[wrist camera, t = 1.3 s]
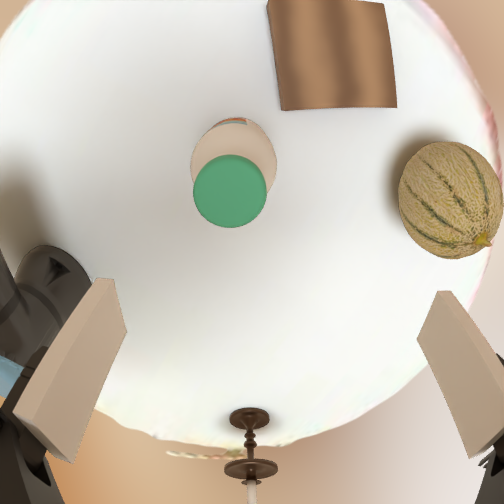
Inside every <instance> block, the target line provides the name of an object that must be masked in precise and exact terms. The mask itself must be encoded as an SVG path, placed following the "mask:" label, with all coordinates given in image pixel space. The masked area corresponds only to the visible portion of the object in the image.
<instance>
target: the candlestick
mask: <svg viewBox="0 0 504 504" xmlns="http://www.w3.org/2000/svg"><path fill="white" fill-rule="evenodd" d="M230 423H231V424H232V425H233V426H235V427H237V428H240V429H246V430H247V433H246V434H245V435H244V436H245V438H247V441H245V443H244V447H246V448H247V453H248V454H247V457H248V459H241V460H235V461H232V462H229V463H227V464H226V465H225V468H224V470H225V471H224V472H225V474H226V475H228V476H230V477H233V478H238V479H246V480H245V481H242V484H245V485H247V504H257V491H256V485H257V484H260V483H261V481H259V480H257V479H262V478H267V477H270V476H272V475H274V474H276V473H277V471H278V467H277V464H276V463H275V462H273V461H269V460H265V459H254V448H255V447H256V446H257V443H256V442H255V441H254V438H255V436H256V435H255V434H254V433H253V429H258V428H261V427H264V426H265V425H267V424H268V423H269V414H268V413H267V412H266V411H264V410H262V409H258V408H242V409H238V410H236V411H234V412H232V413H231V415H230Z"/></svg>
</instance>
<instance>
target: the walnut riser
mask: <svg viewBox="0 0 504 504" xmlns="http://www.w3.org/2000/svg"><path fill="white" fill-rule="evenodd" d="M267 12H268V18H269V24H270V31H271V37H272V44H273V51H274V58H275V65H276V72H277V79H278V87H279V95H280V103H281V110H283V111H289V110H303V109H319V108H346V107H386V108H397V97H396V85H395V75H394V65H393V57H392V50H391V43H390V36H389V30H388V24H387V18H386V13H385V8H384V4H382V3H375V2H367V1H357V0H268V3H267Z"/></svg>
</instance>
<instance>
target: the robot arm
mask: <svg viewBox="0 0 504 504" xmlns="http://www.w3.org/2000/svg"><path fill="white" fill-rule="evenodd" d="M126 333H127V330H126V327H125V323H124V319H123V316H122V312H121V308H120V304H119V300H118V296H117V292H116V288H115V283H114V279H103V278H97V279H96V280H95V282H94V283H93V284H92V286H91V283H90V280H89V278H88V276H87V274H86V273H85V271H84V270H83V268H82V267H81V266H80V265H79V263H78V262H77V261H76V260H75V259H74V258H72V257H71V256H70V255H69V254H67V253H66V252H64V251H62V250H60V249H58V248H56V247H52V246H38V247H36V248H34V249H32V250H31V251H30V252H29V253H28V254H27V255H26V256H25V257H24V258H23V260H22V261H21V263H20V265H19V268H18V270H17V272H16V275H15V277H14V279H13V276H12V274H11V272H10V270H9V268H8V266H7V263H6V261H5V259H4V257H3V254H2V252H1V250H0V396H2V397H4V398H6V399H5V401H4V403H3V405H2V407H1V408H0V504H65V503H64V501H63V499H62V496H61V494H60V492H59V489H58V487H57V484H56V482H55V479H54V477H53V474H52V472H51V469H50V466H49V463H48V461H47V459H46V457H45V453H46V450H48V451H49V452H50V453H51V454H52V455H53V456H54V457H56V458H59V459H61V460H64V461H67V462H69V463H72V464H74V461H75V458H76V455H77V452H78V449H79V447H80V444H81V441H82V438H83V436H84V433H85V430H86V428H87V425H88V422H89V420H90V417H91V414H92V412H93V409H94V407H95V404H96V402H97V399H98V397H99V395H100V392H101V390H102V387H103V385H104V382H105V380H106V378H107V375H108V373H109V371H110V368H111V366H112V364H113V362H114V359H115V357H116V355H117V353H118V350H119V348H120V346H121V344H122V341H123V339H124V337H125V335H126ZM417 341H418V343H419V345H420V347H421V349H422V351H423V353H424V355H425V357H426V359H427V361H428V363H429V365H430V367H431V369H432V371H433V373H434V376H435V378H436V380H437V382H438V384H439V386H440V389H441V391H442V393H443V395H444V398H445V400H446V402H447V404H448V407H449V409H450V411H451V414H452V416H453V419H454V421H455V423H456V426H457V428H458V431H459V433H460V436H461V439H462V441H463V444H464V447H465V449H466V452H467V455H468V458H469V459H470V458H473V457H475V456H478V455H480V454H482V453H484V452H485V451H486V450H487V449H488V448H490V447H491V446H492V445H493V446H494V450H493V451H492V452H491V453H490V454H488V455H487V456H486V457H485V458H484V459H482V460H481V461H480V463H479V465H478V466H481V465H483V464H484V463H485V462H486V461H487V460H488V463H487V464H485V465H484V467H483V468H486V471H485V475H484V478H483V481H482V484H481V488H480V490H479V493H478V496H477V499H476V501H475V504H504V360H503V359H502V358H501V357H500V356H499V355H498V354H495V352H494V351H493V349H492V348H491V346H490V345H489V343H488V342H487V340H486V339H485V337H484V336H483V334H482V333H481V332H480V330H479V329H478V327H477V326H476V324H475V323H474V321H473V320H472V319H471V318H470V316H469V314H468V313H467V312H466V310H465V309H464V308H463V306H462V305H461V304H460V302H459V301H458V300H457V298H456V297H455V296H454V294H453V293H452V292H451V291H437V293H436V296H435V298H434V301H433V303H432V306H431V308H430V310H429V313H428V315H427V317H426V320H425V322H424V324H423V326H422V328H421V331H420V333H419V335H418V337H417Z"/></svg>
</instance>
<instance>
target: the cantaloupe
mask: <svg viewBox="0 0 504 504" xmlns="http://www.w3.org/2000/svg"><path fill="white" fill-rule="evenodd" d="M398 194H399V210H400V214H401V218H402V221H403V223H404V226H405V228H406V230H407V232H408V234H409V235H410V236H411V238H412V239H413V240H414V241H415V242H416V243H417V244H418V245H419V246H421V247H422V248H423V249H425V250H427V251H428V252H430V253H432V254H434V255H436V256H438V257H441V258H445V259H460V258H463V257H466V256H470V255H473V254H475V253H477V252H478V251H480V250H481V249H483V248H484V247H490V246H491V245H492V244H491V243H490V241H491V240H492V239H493V237H494V236H495V234H496V233H497V230H498V228H499V225H500V221H501V219H502V215H503V207H504V203H503V193H502V188H501V185H500V181H499V179H498V177H497V175H496V173H495V172H494V170H493V168H492V167H491V165H490V164H489V163H488V162H487V160H486V159H485V158H484V157H483V156H482V155H481V154H480V153H478V152H477V151H476V150H474V149H472V148H471V147H469V146H467V145H464V144H461V143H457V142H435V143H431V144H428V145H426V146H424V147H423V148H421V149H420V150H419V151H418V152H417V153H416V154H415V155H413V156H412V157H411V159H410V160H409V161H408V162H407V164H406V166H405V169H404V171H403V175H402V177H401V178H400V182H399V188H398Z"/></svg>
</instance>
